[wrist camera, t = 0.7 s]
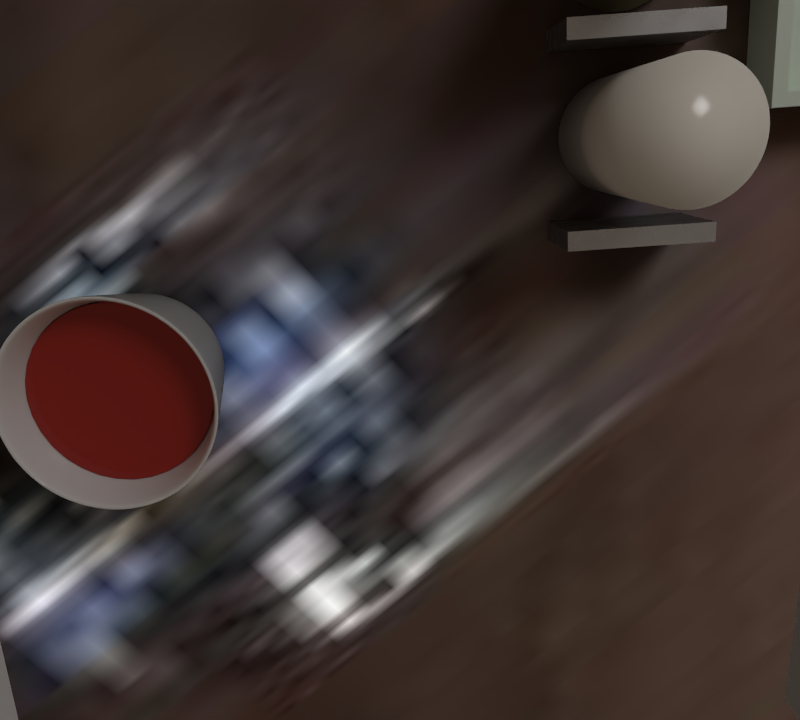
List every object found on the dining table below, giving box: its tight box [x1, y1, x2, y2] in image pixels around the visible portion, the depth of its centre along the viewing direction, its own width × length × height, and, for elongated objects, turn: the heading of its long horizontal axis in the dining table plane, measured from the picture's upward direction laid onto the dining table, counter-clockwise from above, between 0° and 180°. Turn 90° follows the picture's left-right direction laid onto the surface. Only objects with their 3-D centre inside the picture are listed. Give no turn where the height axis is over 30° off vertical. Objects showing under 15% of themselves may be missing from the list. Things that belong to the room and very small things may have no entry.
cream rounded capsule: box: [558, 50, 770, 210], centre depth 29 cm, size 5×5×9 cm
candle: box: [0, 293, 224, 509], centre depth 33 cm, size 9×9×6 cm
